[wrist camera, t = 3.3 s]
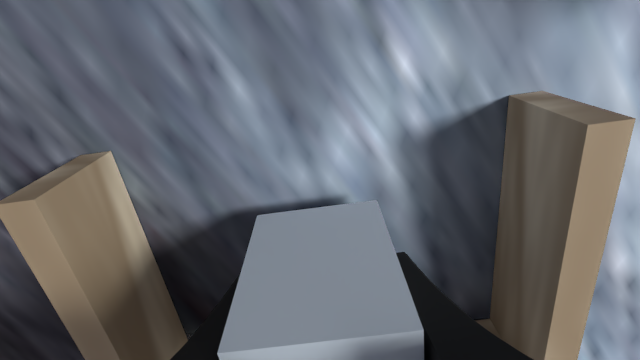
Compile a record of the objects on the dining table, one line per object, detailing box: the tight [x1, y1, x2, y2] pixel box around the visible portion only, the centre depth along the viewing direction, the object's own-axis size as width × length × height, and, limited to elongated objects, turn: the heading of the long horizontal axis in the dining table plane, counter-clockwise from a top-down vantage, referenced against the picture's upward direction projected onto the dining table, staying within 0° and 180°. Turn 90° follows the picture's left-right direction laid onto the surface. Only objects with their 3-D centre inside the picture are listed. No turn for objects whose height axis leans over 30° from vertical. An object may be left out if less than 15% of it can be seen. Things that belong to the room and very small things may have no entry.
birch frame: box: [0, 91, 635, 360], centre depth 14 cm, size 17×12×4 cm
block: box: [217, 200, 424, 360], centre depth 11 cm, size 4×4×6 cm
